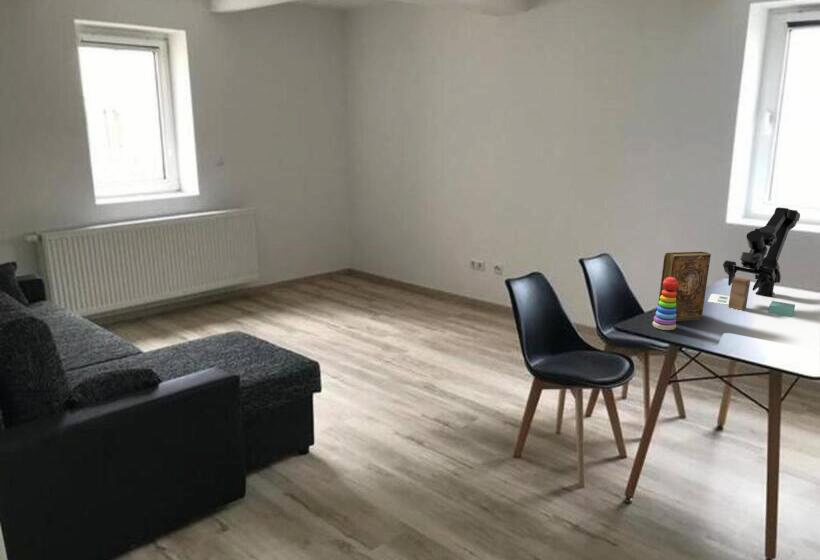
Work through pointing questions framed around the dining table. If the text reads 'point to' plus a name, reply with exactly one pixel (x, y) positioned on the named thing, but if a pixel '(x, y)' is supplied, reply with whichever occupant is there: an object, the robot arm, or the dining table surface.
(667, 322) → the stacking toy
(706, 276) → the book
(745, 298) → the column brick
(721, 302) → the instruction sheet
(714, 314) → the dining table surface
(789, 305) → the base brick
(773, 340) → the dining table surface
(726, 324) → the dining table surface
